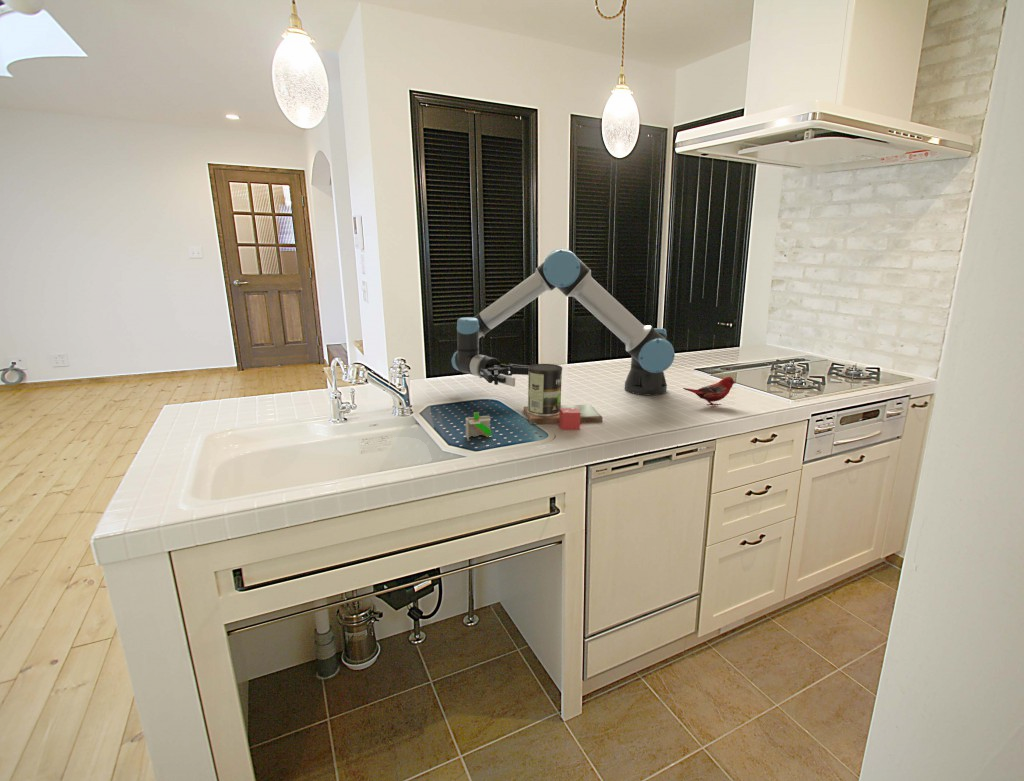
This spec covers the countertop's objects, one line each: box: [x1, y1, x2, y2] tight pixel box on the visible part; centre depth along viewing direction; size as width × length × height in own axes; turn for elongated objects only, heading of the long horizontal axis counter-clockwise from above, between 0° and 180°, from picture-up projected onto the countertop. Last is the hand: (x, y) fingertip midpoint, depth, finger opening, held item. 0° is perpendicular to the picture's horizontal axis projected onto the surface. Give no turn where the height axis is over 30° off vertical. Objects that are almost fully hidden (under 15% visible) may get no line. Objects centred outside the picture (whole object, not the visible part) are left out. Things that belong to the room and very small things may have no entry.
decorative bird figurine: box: [682, 376, 736, 406], centre depth 174 cm, size 3×18×10 cm, turn 93°
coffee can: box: [527, 363, 563, 416], centre depth 160 cm, size 10×10×14 cm
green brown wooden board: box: [523, 404, 603, 425], centre depth 163 cm, size 22×13×2 cm, turn 98°
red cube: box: [558, 408, 581, 431], centre depth 153 cm, size 5×5×5 cm
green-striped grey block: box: [465, 411, 492, 440], centre depth 143 cm, size 4×7×8 cm, turn 109°
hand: (530, 378), depth 164 cm, fingers open, 13 cm apart
